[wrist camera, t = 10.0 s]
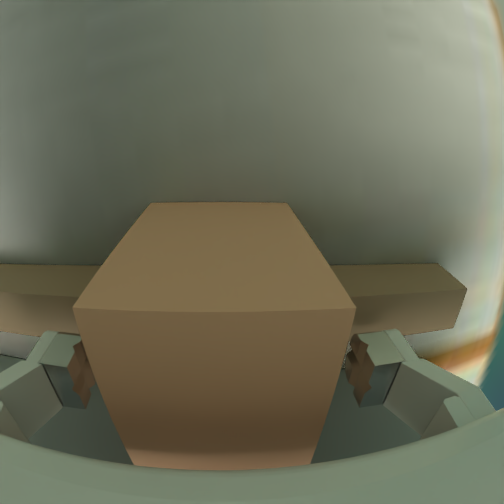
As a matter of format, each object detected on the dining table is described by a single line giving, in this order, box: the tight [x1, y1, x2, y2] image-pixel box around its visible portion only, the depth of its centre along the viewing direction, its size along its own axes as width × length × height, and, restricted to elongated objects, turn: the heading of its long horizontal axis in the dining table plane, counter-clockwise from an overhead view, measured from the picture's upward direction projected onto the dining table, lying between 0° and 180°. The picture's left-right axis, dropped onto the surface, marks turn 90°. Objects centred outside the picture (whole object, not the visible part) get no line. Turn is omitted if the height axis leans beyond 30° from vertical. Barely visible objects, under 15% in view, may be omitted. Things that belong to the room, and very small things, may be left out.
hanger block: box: [72, 202, 356, 470], centre depth 10 cm, size 7×5×7 cm
